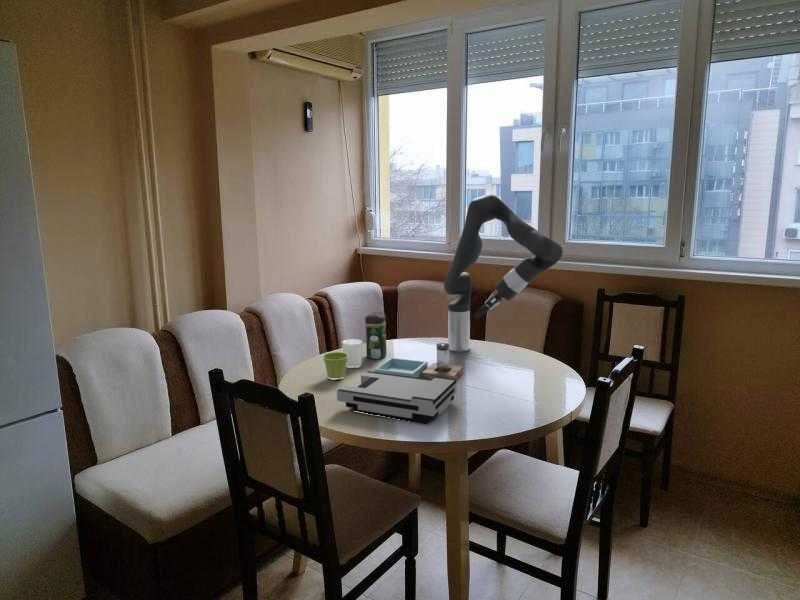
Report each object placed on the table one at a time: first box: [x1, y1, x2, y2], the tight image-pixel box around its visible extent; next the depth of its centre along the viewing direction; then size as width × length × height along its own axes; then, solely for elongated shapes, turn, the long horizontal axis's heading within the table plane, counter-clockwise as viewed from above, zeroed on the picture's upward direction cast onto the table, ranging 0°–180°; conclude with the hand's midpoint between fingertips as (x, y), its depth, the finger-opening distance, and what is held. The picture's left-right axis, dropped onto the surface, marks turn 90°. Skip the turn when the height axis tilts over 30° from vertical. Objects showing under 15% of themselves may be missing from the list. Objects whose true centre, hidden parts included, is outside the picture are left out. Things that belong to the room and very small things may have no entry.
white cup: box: [341, 338, 363, 366], centre depth 216 cm, size 8×8×10 cm
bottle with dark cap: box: [436, 342, 450, 372], centre depth 202 cm, size 5×5×12 cm
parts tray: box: [373, 357, 429, 378], centre depth 204 cm, size 15×15×4 cm
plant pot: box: [322, 351, 348, 378], centre depth 202 cm, size 9×9×9 cm
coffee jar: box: [364, 311, 388, 359], centre depth 227 cm, size 10×8×19 cm
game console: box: [336, 370, 457, 426], centre depth 174 cm, size 21×32×8 cm, turn 66°
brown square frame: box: [421, 362, 464, 381], centre depth 203 cm, size 12×12×2 cm
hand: (478, 314), depth 193 cm, fingers open, 8 cm apart
